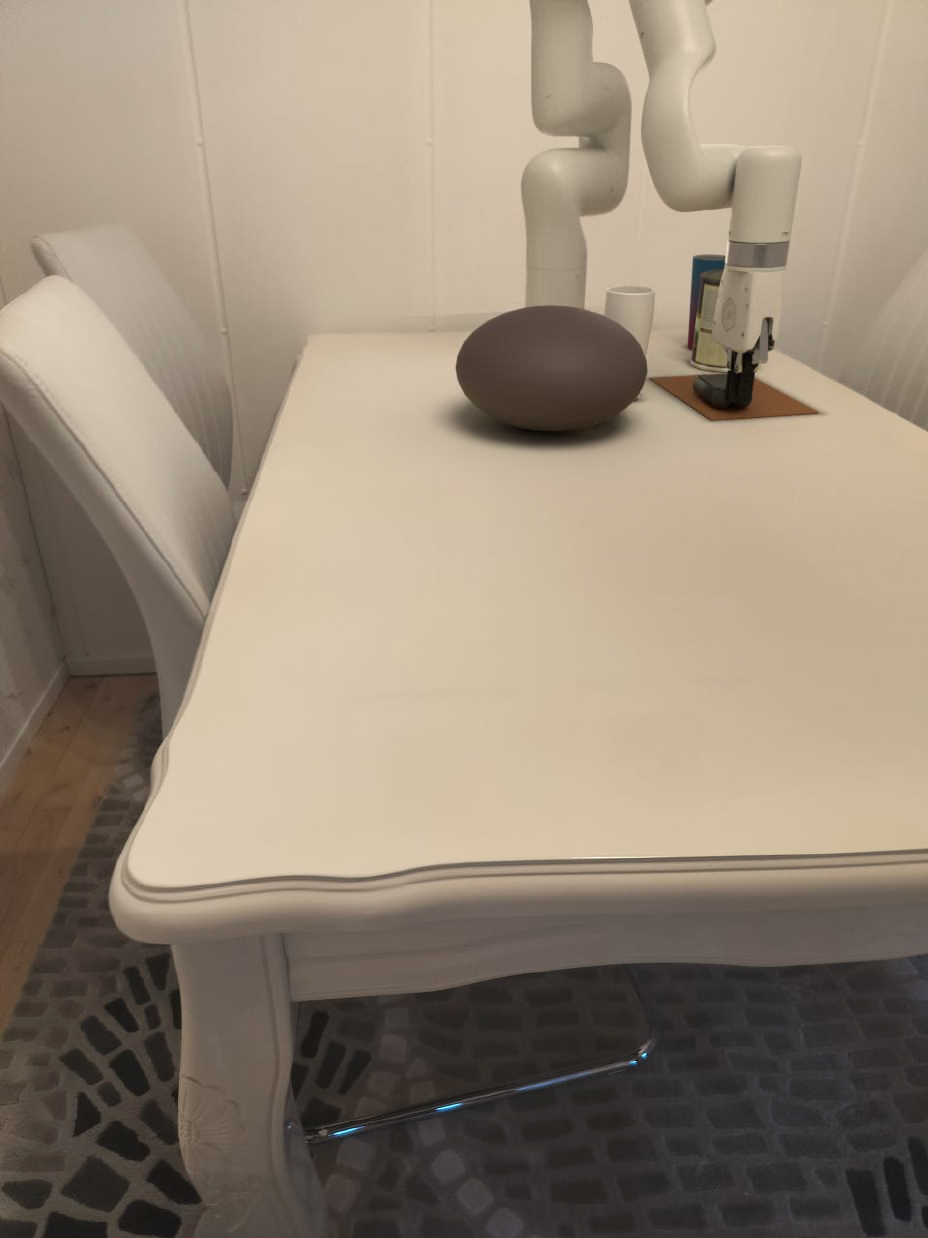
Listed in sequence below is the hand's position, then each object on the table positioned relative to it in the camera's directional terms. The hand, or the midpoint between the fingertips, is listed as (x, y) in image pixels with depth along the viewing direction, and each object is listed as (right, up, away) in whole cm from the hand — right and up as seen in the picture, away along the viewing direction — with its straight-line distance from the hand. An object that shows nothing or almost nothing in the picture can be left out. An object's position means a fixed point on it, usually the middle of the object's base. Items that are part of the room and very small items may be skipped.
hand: (737, 400), depth 121 cm
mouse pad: (+2, +3, +10) cm, 10 cm away
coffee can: (+5, +12, +25) cm, 28 cm away
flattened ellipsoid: (-26, -4, -2) cm, 26 cm away
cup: (+5, +18, +36) cm, 40 cm away
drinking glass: (-14, +2, +9) cm, 17 cm away
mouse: (-1, +1, +6) cm, 6 cm away
